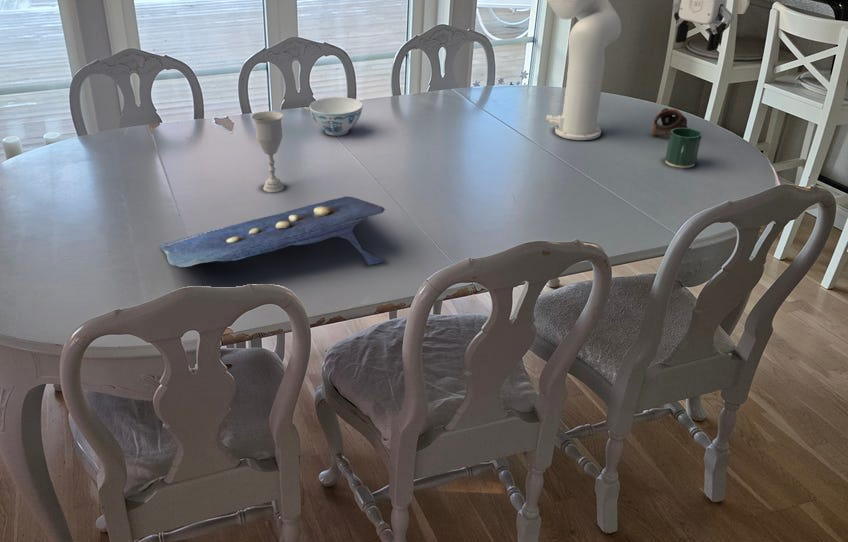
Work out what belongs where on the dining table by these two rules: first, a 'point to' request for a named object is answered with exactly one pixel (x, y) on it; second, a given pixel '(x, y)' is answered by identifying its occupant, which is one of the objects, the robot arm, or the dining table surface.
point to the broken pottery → (668, 122)
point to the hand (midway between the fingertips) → (695, 45)
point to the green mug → (683, 147)
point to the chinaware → (336, 114)
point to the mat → (276, 233)
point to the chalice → (269, 143)
